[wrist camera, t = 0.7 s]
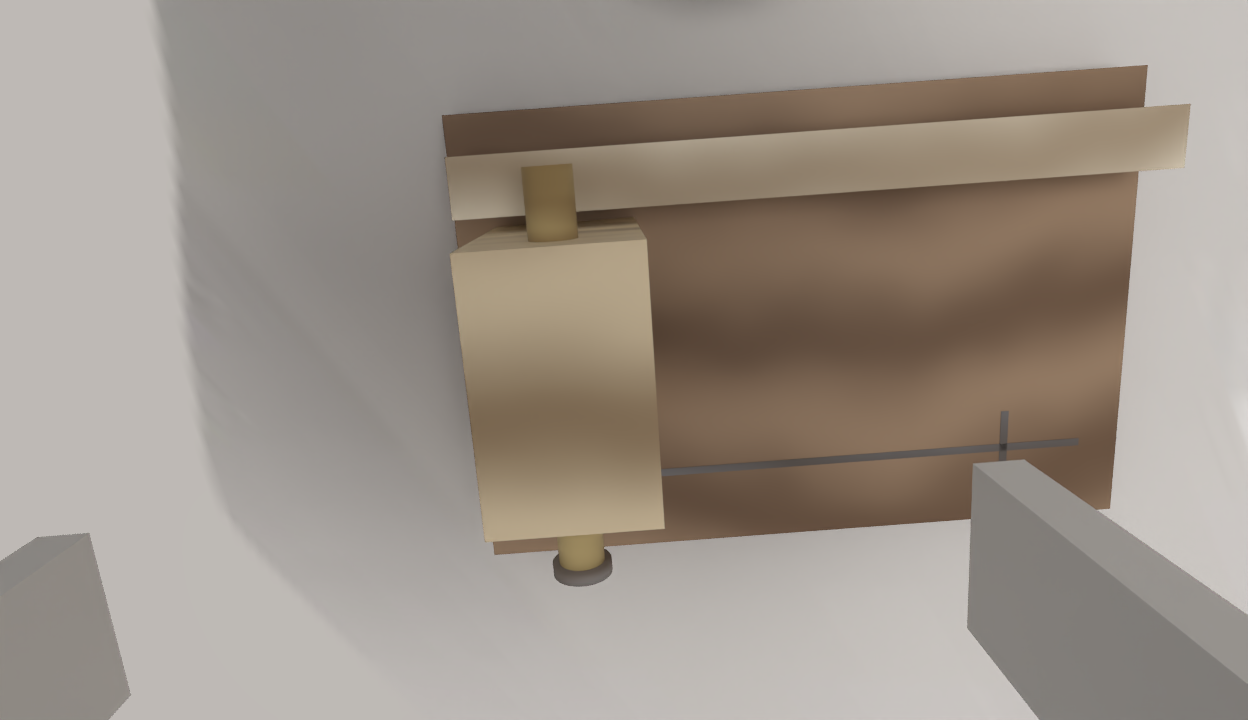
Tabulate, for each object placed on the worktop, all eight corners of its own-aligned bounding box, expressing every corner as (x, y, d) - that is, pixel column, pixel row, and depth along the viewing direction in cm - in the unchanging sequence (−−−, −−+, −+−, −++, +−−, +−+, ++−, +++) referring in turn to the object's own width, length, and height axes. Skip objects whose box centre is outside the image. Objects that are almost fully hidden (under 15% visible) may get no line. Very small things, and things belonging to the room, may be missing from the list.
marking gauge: (490, 170, 28) (439, 172, 19) (630, 160, 28) (641, 158, 19) (524, 487, 31) (493, 612, 22) (650, 478, 31) (669, 599, 22)
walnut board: (452, 118, 30) (422, 109, 25) (1112, 71, 30) (1210, 53, 25) (500, 532, 34) (483, 593, 29) (1080, 488, 34) (1160, 542, 29)
